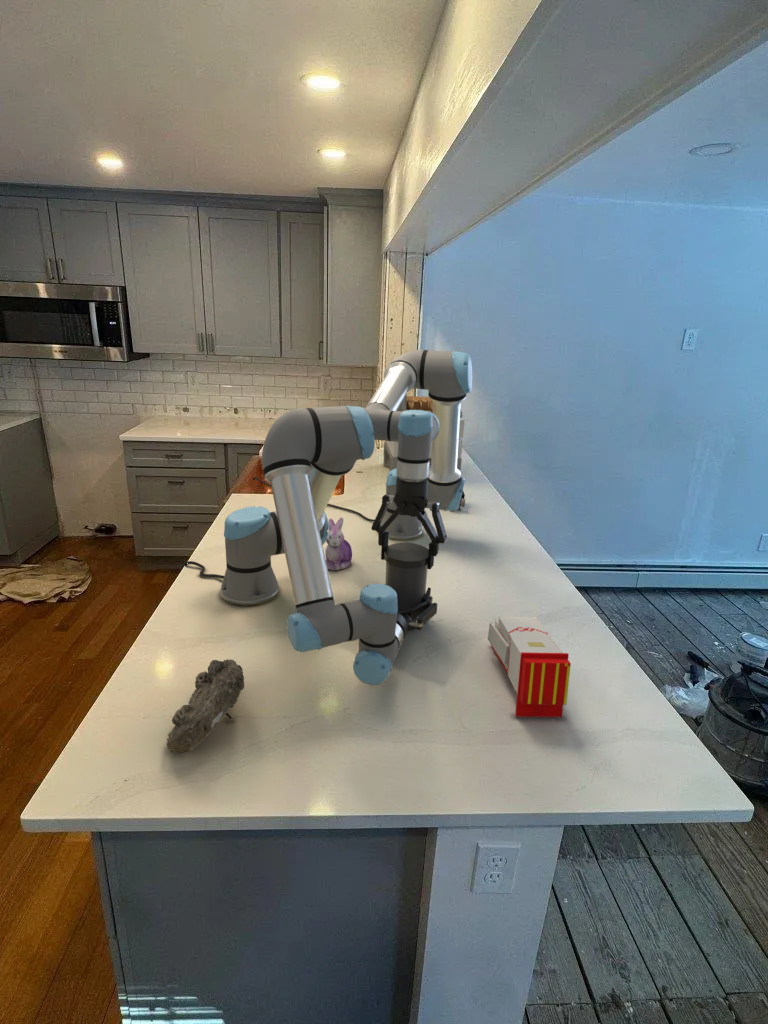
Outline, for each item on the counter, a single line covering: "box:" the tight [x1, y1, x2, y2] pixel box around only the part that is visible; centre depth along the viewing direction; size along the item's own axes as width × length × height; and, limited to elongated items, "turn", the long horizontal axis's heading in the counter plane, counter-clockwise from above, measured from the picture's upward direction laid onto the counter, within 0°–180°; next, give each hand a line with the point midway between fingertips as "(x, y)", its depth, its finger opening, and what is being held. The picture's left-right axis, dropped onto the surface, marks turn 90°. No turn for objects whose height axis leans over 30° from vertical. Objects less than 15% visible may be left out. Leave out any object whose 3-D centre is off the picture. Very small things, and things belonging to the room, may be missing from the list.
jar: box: [384, 561, 428, 630], centre depth 142 cm, size 10×10×18 cm
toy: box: [487, 616, 572, 718], centre depth 123 cm, size 12×13×30 cm
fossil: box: [166, 658, 245, 754], centre depth 106 cm, size 22×10×15 cm
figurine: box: [324, 517, 353, 571], centre depth 171 cm, size 9×10×15 cm
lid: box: [383, 542, 429, 569], centre depth 139 cm, size 12×12×2 cm
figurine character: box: [457, 490, 466, 511], centre depth 229 cm, size 7×8×15 cm
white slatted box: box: [383, 392, 465, 472], centre depth 268 cm, size 34×33×41 cm
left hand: (408, 589), depth 147 cm, fingers closed on jar, 10 cm apart
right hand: (406, 562), depth 140 cm, fingers closed on lid, 11 cm apart
